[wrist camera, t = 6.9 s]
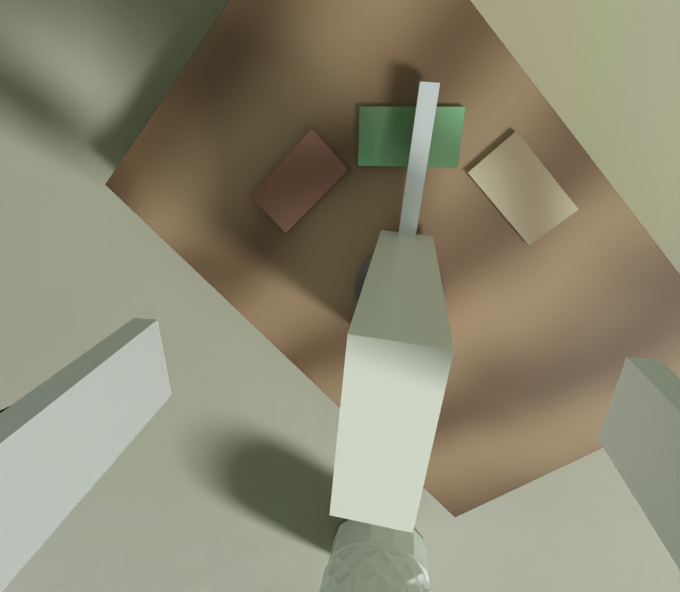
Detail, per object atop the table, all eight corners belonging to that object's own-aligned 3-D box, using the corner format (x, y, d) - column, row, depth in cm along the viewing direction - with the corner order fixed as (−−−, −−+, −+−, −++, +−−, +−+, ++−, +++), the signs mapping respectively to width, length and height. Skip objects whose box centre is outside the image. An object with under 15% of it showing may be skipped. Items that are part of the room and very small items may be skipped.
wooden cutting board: (138, 178, 21) (101, 185, 19) (352, -122, 15) (340, -172, 13) (451, 482, 25) (455, 520, 23) (716, 346, 19) (761, 377, 17)
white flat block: (367, 341, 19) (329, 515, 10) (399, 82, 15) (379, 14, 6) (413, 348, 19) (412, 533, 10) (459, 86, 14) (529, 21, 6)
